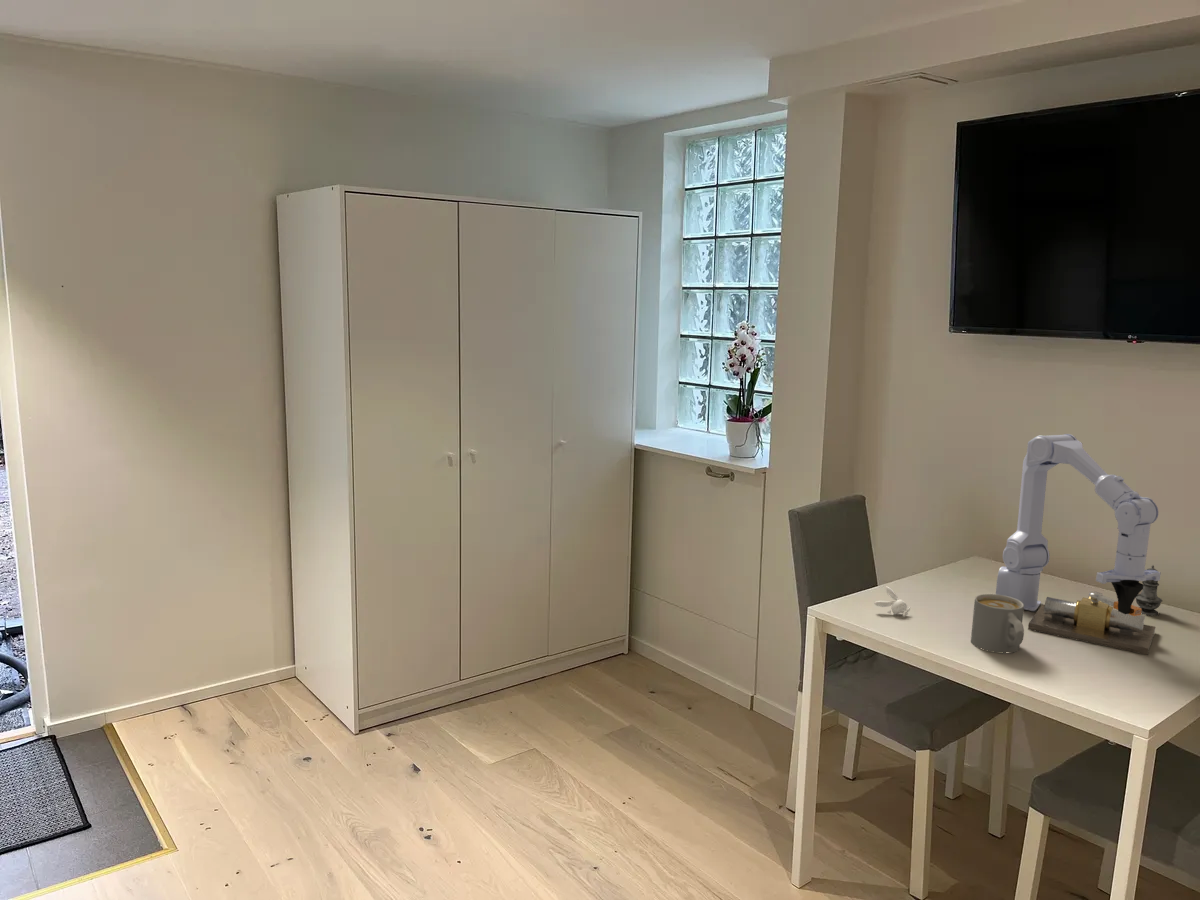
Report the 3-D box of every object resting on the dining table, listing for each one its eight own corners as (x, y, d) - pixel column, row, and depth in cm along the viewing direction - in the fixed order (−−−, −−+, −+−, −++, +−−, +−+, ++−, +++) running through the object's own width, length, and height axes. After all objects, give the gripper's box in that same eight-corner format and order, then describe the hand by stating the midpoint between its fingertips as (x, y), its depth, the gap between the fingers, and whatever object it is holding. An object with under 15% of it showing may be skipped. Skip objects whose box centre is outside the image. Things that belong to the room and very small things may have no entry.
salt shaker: (1164, 617, 223) (1171, 569, 221) (1138, 615, 224) (1144, 567, 222) (1155, 609, 229) (1161, 562, 226) (1129, 606, 230) (1135, 560, 228)
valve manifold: (1028, 629, 213) (1031, 597, 212) (1041, 610, 226) (1045, 580, 225) (1147, 654, 200) (1151, 621, 198) (1154, 632, 213) (1159, 601, 211)
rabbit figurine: (902, 620, 218) (873, 599, 221) (898, 627, 221) (870, 606, 224) (916, 603, 220) (887, 583, 224) (912, 610, 223) (884, 590, 227)
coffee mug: (963, 635, 209) (968, 593, 207) (1008, 636, 209) (1012, 594, 207) (987, 659, 196) (991, 614, 194) (1034, 660, 196) (1039, 615, 194)
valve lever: (1085, 597, 212) (1086, 591, 212) (1094, 596, 213) (1095, 590, 213) (1132, 616, 201) (1133, 609, 201) (1141, 614, 202) (1142, 608, 202)
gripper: (1116, 559, 195) (1108, 620, 197) (1174, 557, 198) (1166, 617, 200) (1092, 550, 202) (1085, 609, 204) (1149, 547, 205) (1141, 606, 207)
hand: (1123, 612), depth 203 cm, fingers closed, pressing on valve lever
